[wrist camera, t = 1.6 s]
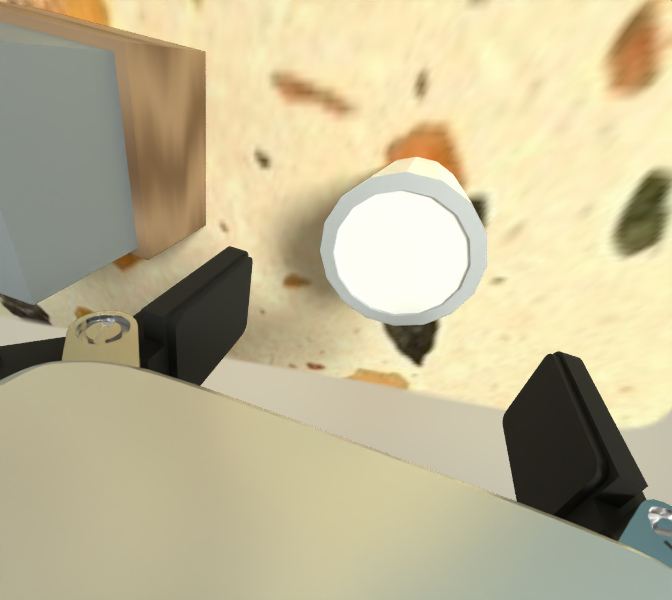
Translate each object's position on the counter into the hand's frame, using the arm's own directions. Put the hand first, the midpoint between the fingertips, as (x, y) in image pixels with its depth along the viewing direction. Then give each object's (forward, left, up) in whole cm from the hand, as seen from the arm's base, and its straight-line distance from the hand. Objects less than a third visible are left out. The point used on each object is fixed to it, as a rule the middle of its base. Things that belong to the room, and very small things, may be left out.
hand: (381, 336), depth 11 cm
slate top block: (-1, -18, -6) cm, 19 cm away
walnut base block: (-1, -18, -12) cm, 22 cm away
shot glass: (-1, 0, -12) cm, 12 cm away
